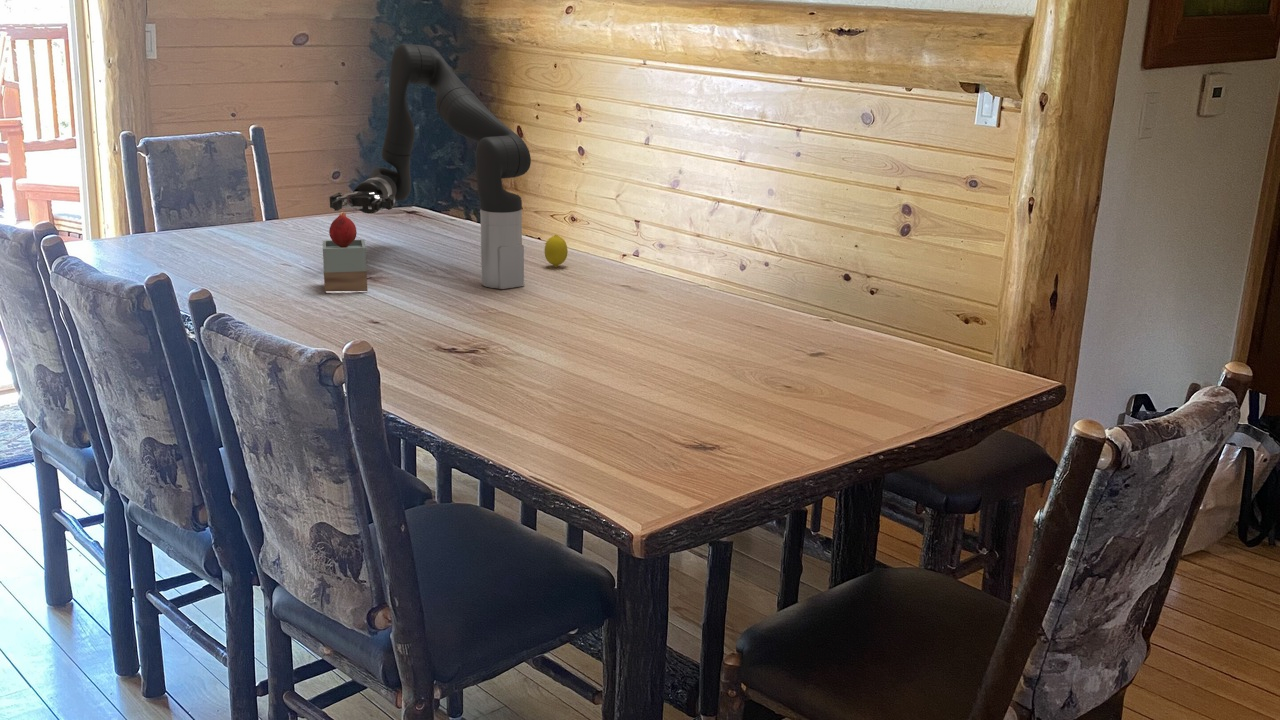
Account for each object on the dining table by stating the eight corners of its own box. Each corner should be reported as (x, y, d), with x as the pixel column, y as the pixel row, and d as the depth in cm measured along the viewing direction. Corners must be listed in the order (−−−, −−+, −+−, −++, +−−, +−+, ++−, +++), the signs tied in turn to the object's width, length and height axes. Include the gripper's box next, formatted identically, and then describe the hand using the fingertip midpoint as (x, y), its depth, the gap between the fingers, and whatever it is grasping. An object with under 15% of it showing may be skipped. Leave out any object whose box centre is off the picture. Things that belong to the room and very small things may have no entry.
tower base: (367, 293, 254) (366, 271, 253) (325, 294, 252) (323, 272, 251) (366, 283, 263) (365, 262, 261) (325, 285, 261) (324, 263, 259)
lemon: (569, 265, 284) (569, 233, 282) (565, 270, 279) (565, 237, 277) (546, 264, 285) (546, 232, 283) (542, 269, 280) (542, 236, 277)
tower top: (366, 271, 253) (365, 247, 251) (324, 272, 251) (322, 249, 249) (365, 262, 261) (364, 239, 260) (324, 263, 259) (322, 240, 257)
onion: (351, 250, 252) (349, 213, 250) (325, 250, 253) (324, 213, 251) (361, 247, 257) (359, 211, 256) (336, 246, 258) (334, 210, 256)
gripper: (342, 178, 276) (322, 189, 261) (402, 180, 276) (385, 191, 260) (344, 209, 278) (324, 222, 263) (403, 211, 278) (386, 224, 263)
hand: (354, 206), depth 262 cm, fingers open, 8 cm apart
